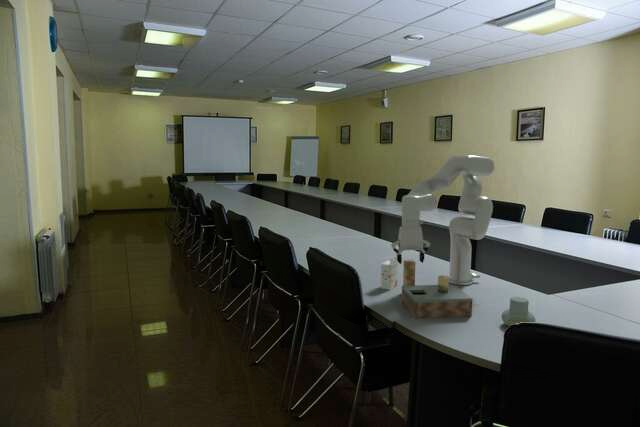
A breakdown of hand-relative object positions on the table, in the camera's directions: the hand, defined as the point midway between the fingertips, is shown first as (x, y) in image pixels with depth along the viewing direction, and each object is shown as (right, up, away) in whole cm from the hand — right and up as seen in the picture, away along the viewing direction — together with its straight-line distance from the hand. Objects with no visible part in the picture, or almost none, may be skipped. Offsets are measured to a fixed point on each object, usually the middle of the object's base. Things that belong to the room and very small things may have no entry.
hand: (410, 262), depth 187 cm
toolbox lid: (+6, -11, -18) cm, 21 cm away
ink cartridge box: (-8, -13, +12) cm, 19 cm away
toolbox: (+6, -17, -17) cm, 24 cm away
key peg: (-1, -14, +1) cm, 14 cm away
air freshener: (+31, -19, -34) cm, 50 cm away
